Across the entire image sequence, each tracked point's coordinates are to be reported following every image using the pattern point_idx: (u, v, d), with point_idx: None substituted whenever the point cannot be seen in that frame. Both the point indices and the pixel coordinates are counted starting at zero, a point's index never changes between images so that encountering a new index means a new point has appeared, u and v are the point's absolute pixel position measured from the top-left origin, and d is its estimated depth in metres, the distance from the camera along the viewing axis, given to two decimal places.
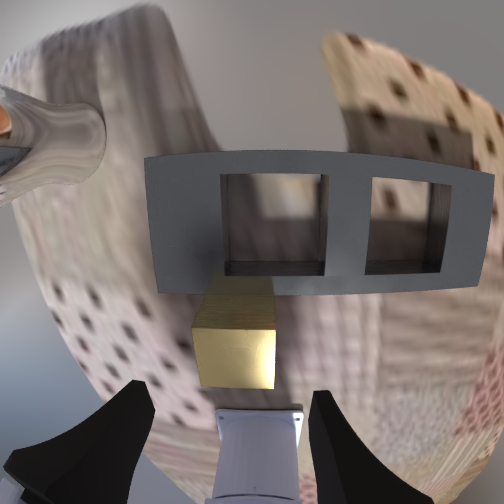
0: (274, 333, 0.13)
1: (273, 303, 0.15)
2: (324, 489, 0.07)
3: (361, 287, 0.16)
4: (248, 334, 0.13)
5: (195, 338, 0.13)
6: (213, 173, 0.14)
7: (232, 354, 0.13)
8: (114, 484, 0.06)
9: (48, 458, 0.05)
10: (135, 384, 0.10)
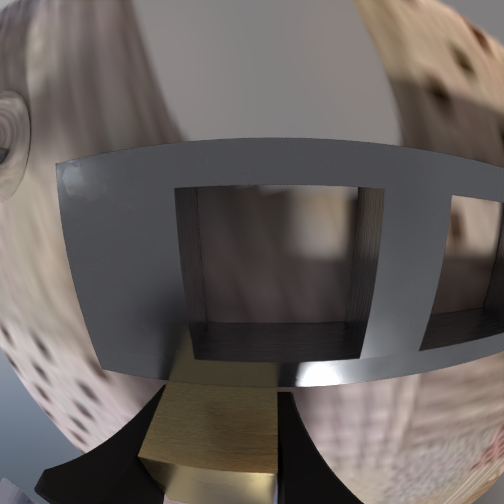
0: (275, 475, 0.06)
1: (275, 407, 0.08)
2: (279, 492, 0.07)
3: (411, 367, 0.09)
4: (230, 475, 0.06)
5: (148, 466, 0.06)
6: (162, 186, 0.07)
7: (208, 487, 0.06)
8: (151, 495, 0.06)
9: (87, 476, 0.05)
10: None
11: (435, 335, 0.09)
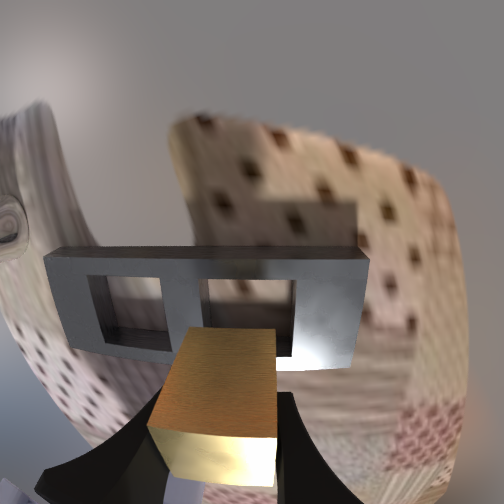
0: (275, 441, 0.07)
1: (274, 380, 0.09)
2: (279, 492, 0.07)
3: None
4: (233, 442, 0.07)
5: (155, 436, 0.07)
6: (82, 273, 0.16)
7: (212, 457, 0.07)
8: (151, 495, 0.06)
9: (87, 476, 0.05)
10: None
11: None
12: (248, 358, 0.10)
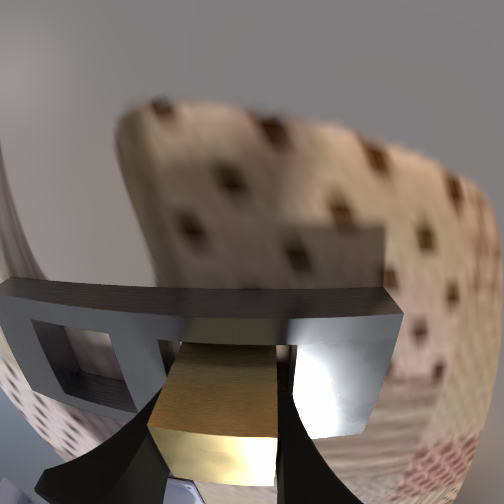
0: (275, 441, 0.07)
1: (274, 380, 0.09)
2: (279, 492, 0.07)
3: None
4: (234, 441, 0.07)
5: (156, 436, 0.07)
6: (26, 316, 0.11)
7: (212, 457, 0.07)
8: (151, 495, 0.06)
9: (87, 476, 0.05)
10: None
11: None
12: (248, 358, 0.10)
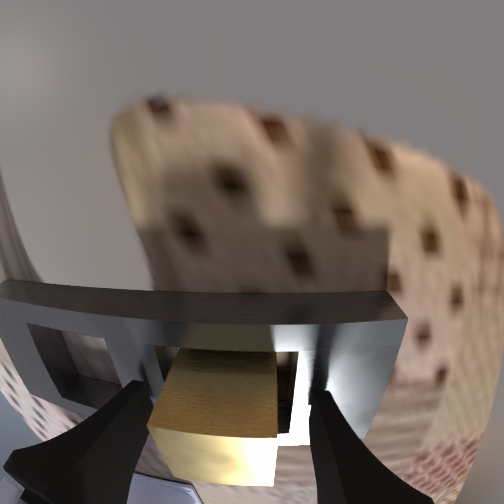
0: (275, 441, 0.07)
1: (274, 380, 0.09)
2: (324, 489, 0.07)
3: None
4: (234, 442, 0.07)
5: (155, 436, 0.07)
6: (21, 320, 0.11)
7: (212, 457, 0.07)
8: (114, 484, 0.06)
9: (49, 458, 0.05)
10: (135, 384, 0.10)
11: None
12: (248, 358, 0.10)
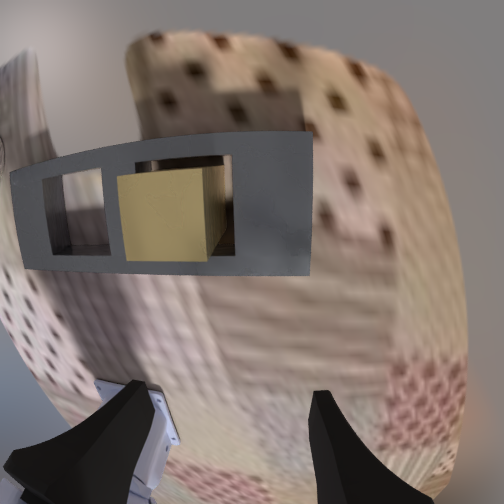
0: (200, 173, 0.11)
1: (212, 166, 0.13)
2: (324, 489, 0.07)
3: (145, 268, 0.16)
4: (172, 177, 0.11)
5: (120, 190, 0.11)
6: (38, 178, 0.15)
7: (157, 207, 0.12)
8: (114, 484, 0.06)
9: (49, 458, 0.05)
10: (135, 384, 0.10)
11: None
12: None
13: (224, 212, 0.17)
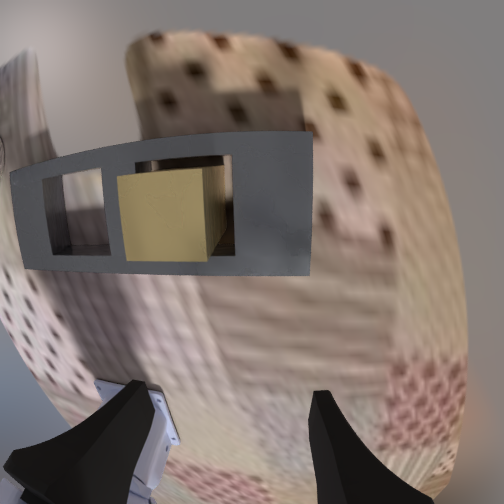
0: (200, 173, 0.11)
1: (212, 166, 0.13)
2: (324, 489, 0.07)
3: (145, 268, 0.16)
4: (172, 177, 0.11)
5: (120, 190, 0.11)
6: (38, 178, 0.15)
7: (157, 207, 0.12)
8: (114, 484, 0.06)
9: (49, 458, 0.05)
10: (135, 384, 0.10)
11: None
12: None
13: (224, 212, 0.17)
